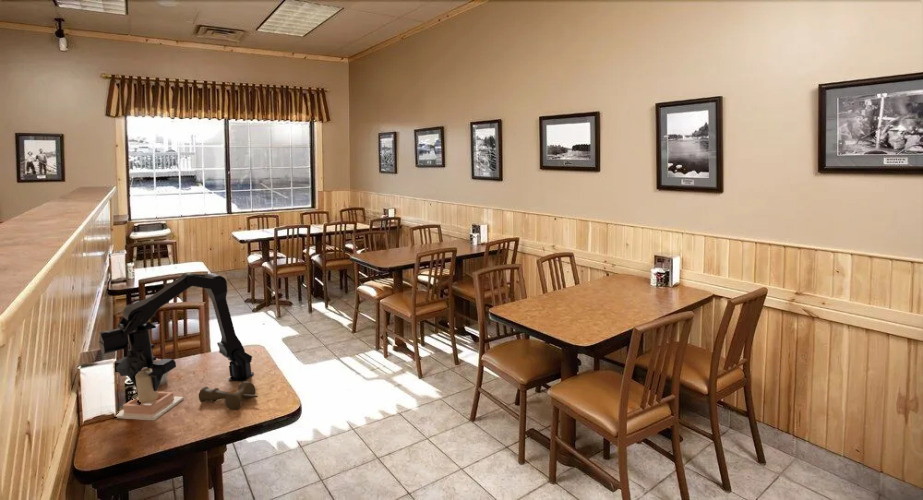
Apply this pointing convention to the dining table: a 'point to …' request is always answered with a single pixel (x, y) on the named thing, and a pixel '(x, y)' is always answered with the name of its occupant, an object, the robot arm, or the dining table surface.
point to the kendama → (229, 395)
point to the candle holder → (149, 407)
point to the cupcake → (164, 377)
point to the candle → (145, 386)
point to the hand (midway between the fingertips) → (147, 390)
